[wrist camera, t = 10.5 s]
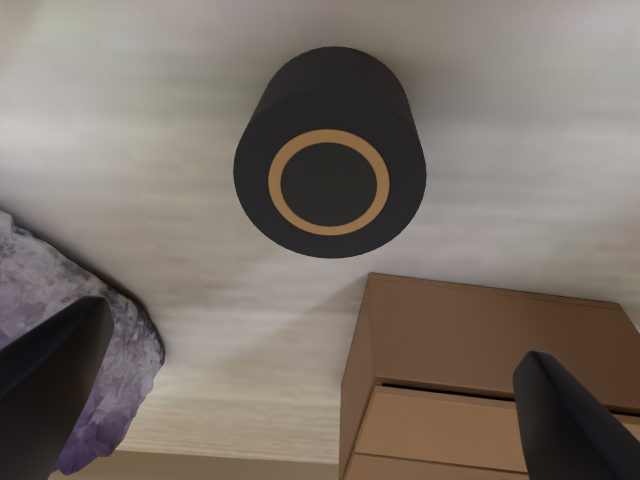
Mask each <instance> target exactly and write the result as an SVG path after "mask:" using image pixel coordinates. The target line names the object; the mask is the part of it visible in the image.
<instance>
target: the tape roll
mask: <svg viewBox="0 0 640 480" xmlns="http://www.w3.org/2000/svg"><path fill="white" fill-rule="evenodd" d="M233 175H234V184H235V188H236V192H237V196H238V198H239V201H240V203H241V206H242V207H243V209H244V211H245V213H246V215H247V216H248V217H249V219H250V220H251V221H252V223H253V224H254V225H255V226H256V227H257V228H258V229H259V230H260V231H261V232H262V233H263V234H264V235H266V236H267V237H268V238H269V239H271V240H272V241H274V242H275V243H277V244H279V245H281V246H283V247H284V248H286V249H289V250H291V251H294V252H296V253H299V254H303V255H307V256H312V257H317V258H346V257H352V256H357V255H361V254H364V253H367V252H370V251H373V250H375V249H377V248H379V247H381V246H383V245H384V244H386V243H388V242H389V241H391V240H392V239H393V238H395V237H396V236H397V235H398V234H400V233H401V231H402V230H403V229H404V228H405V227H406V226H407V225H408V224H409V223H410V221H411V220H412V219H413V217H414V215H415V214H416V212H417V210H418V208H419V206H420V204H421V201H422V199H423V195H424V191H425V187H426V163H425V159H424V154H423V150H422V147H421V144H420V140H419V137H418V134H417V130H416V127H415V123H414V120H413V117H412V113H411V110H410V107H409V103H408V100H407V97H406V95H405V92H404V89H403V88H402V86H401V84H400V82H399V81H398V79H397V78H396V77H395V75H394V74H393V73H392V72H391V71H390V70H389V69H388V68H387V67H386V66H385V65H384V64H383V63H381V62H380V61H379V60H377V59H376V58H374V57H372V56H370V55H368V54H366V53H364V52H361V51H358V50H355V49H351V48H346V47H323V48H318V49H314V50H310V51H308V52H305V53H302V54H300V55H299V56H297V57H295V58H293V59H292V60H290V61H289V62H288V63H286V64H285V65H284V66H283V67H282V68H281V69H280V70H279V71H278V72H277V73H276V74H275V75H274V77H273V78H272V79H271V81H270V83H269V84H268V86H267V88H266V90H265V92H264V94H263V96H262V98H261V100H260V102H259V104H258V106H257V108H256V109H255V111H254V113H253V115H252V117H251V119H250V121H249V123H248V125H247V127H246V129H245V131H244V133H243V135H242V137H241V139H240V141H239V144H238V147H237V150H236V154H235V159H234V169H233Z"/></svg>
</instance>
